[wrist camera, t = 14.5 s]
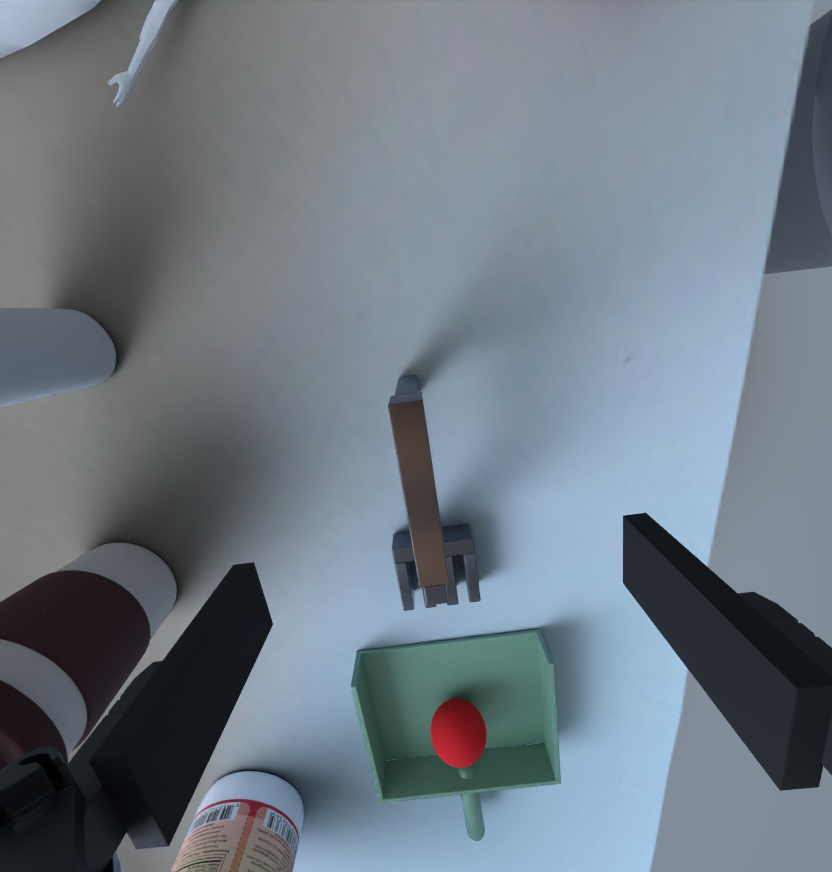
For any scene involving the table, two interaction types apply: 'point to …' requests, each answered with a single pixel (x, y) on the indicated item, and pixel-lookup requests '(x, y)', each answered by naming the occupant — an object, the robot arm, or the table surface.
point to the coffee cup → (76, 644)
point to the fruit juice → (244, 826)
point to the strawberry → (458, 733)
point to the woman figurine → (60, 4)
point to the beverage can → (51, 353)
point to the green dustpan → (470, 680)
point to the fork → (425, 511)
